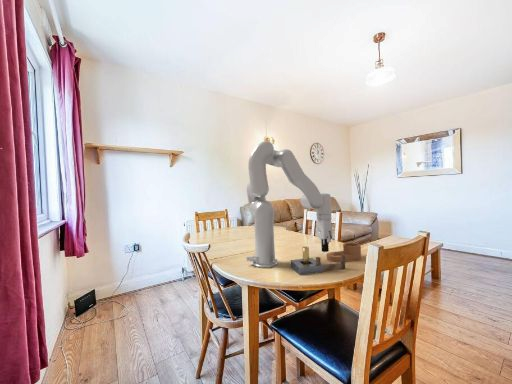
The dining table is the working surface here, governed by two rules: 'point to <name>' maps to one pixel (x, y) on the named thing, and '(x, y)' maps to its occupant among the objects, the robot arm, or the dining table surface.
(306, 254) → the pin
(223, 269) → the dining table surface
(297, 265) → the collar block
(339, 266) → the brown drawer handle
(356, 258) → the bracket
